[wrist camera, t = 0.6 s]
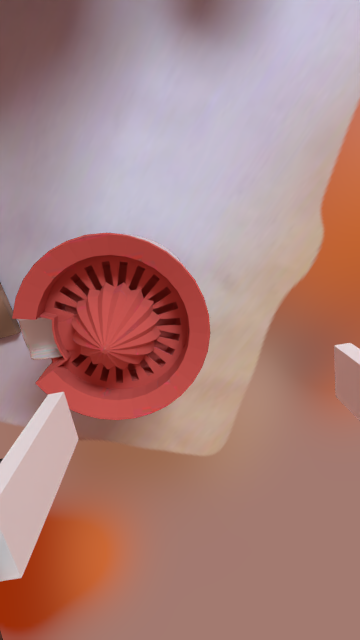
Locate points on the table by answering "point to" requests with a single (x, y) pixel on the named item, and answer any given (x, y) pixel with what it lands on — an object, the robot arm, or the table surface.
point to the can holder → (7, 317)
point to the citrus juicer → (114, 324)
